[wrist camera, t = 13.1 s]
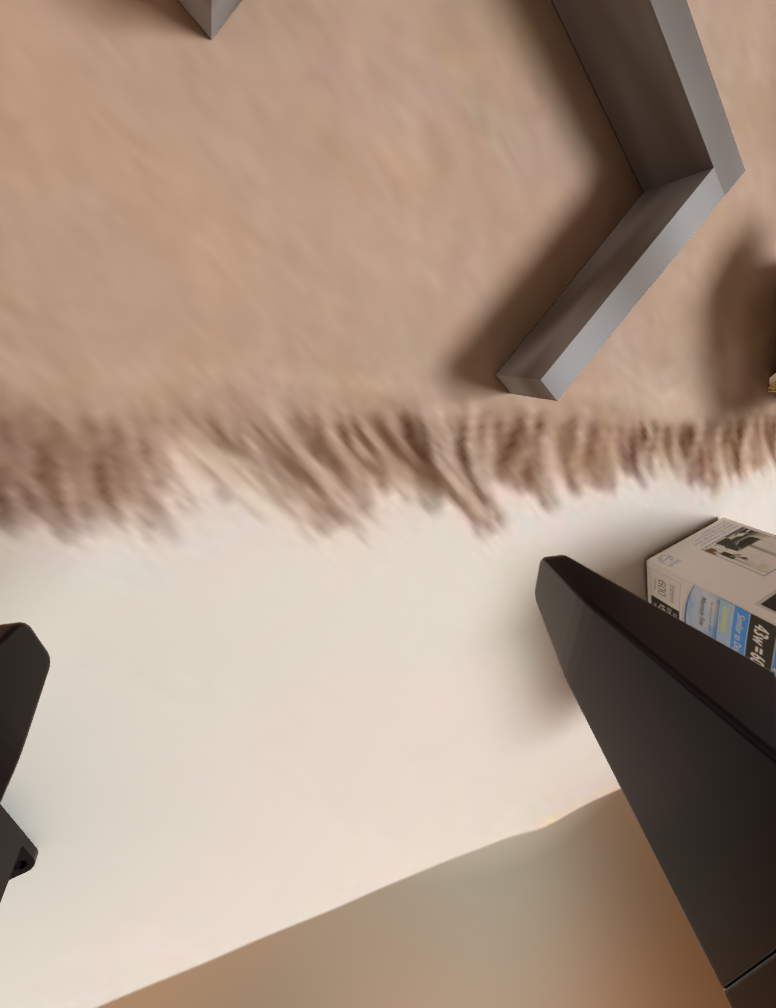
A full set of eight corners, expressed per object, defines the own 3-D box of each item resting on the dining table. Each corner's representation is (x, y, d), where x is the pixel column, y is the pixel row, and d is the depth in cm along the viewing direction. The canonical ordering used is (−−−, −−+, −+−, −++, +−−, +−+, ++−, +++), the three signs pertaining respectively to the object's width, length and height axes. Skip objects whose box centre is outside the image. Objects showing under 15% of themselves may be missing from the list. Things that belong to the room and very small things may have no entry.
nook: (510, 393, 20) (556, 400, 17) (172, -7, 12) (161, -106, 9) (672, 194, 19) (744, 170, 17) (432, -347, 12) (496, -548, 9)
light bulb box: (641, 558, 27) (879, 676, 17) (723, 511, 28) (985, 598, 19) (649, 679, 31) (840, 826, 22) (719, 634, 33) (927, 754, 23)
